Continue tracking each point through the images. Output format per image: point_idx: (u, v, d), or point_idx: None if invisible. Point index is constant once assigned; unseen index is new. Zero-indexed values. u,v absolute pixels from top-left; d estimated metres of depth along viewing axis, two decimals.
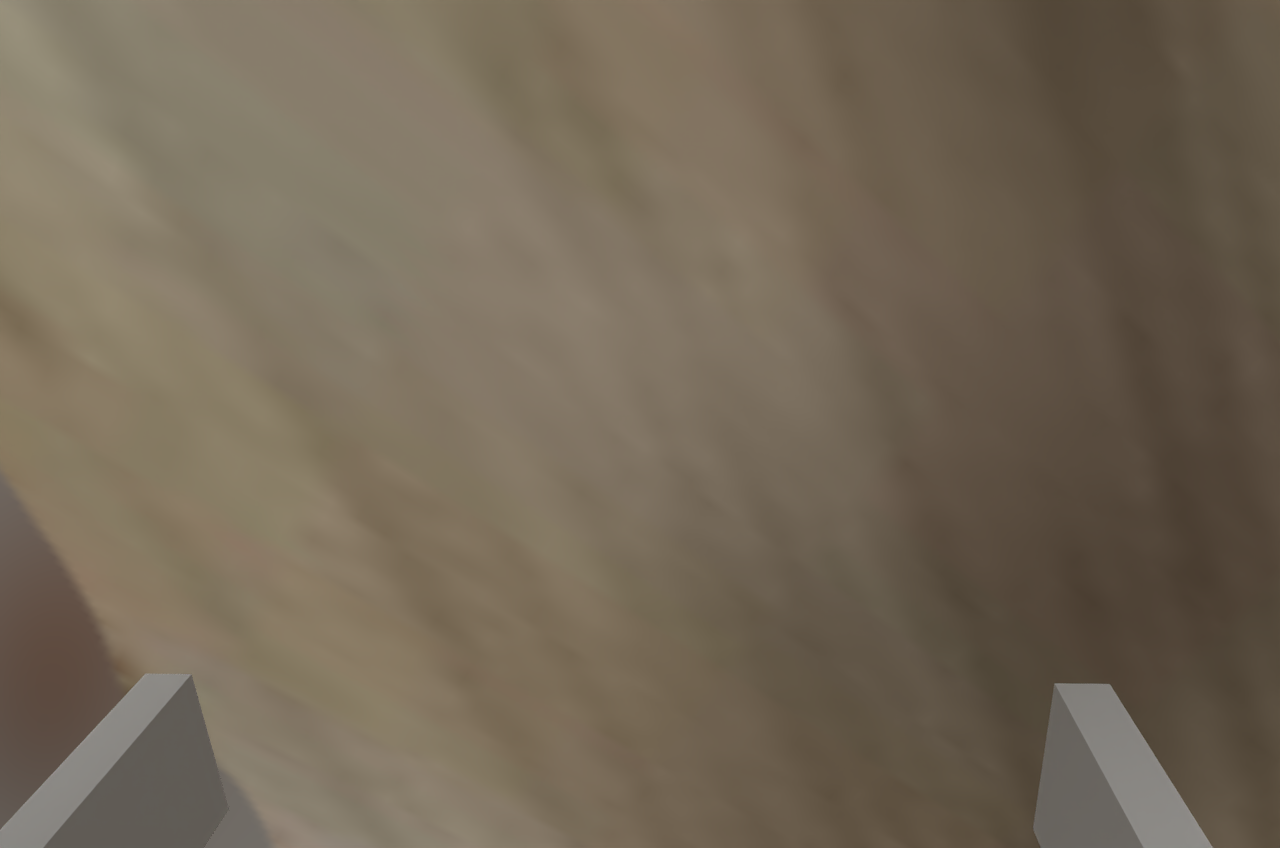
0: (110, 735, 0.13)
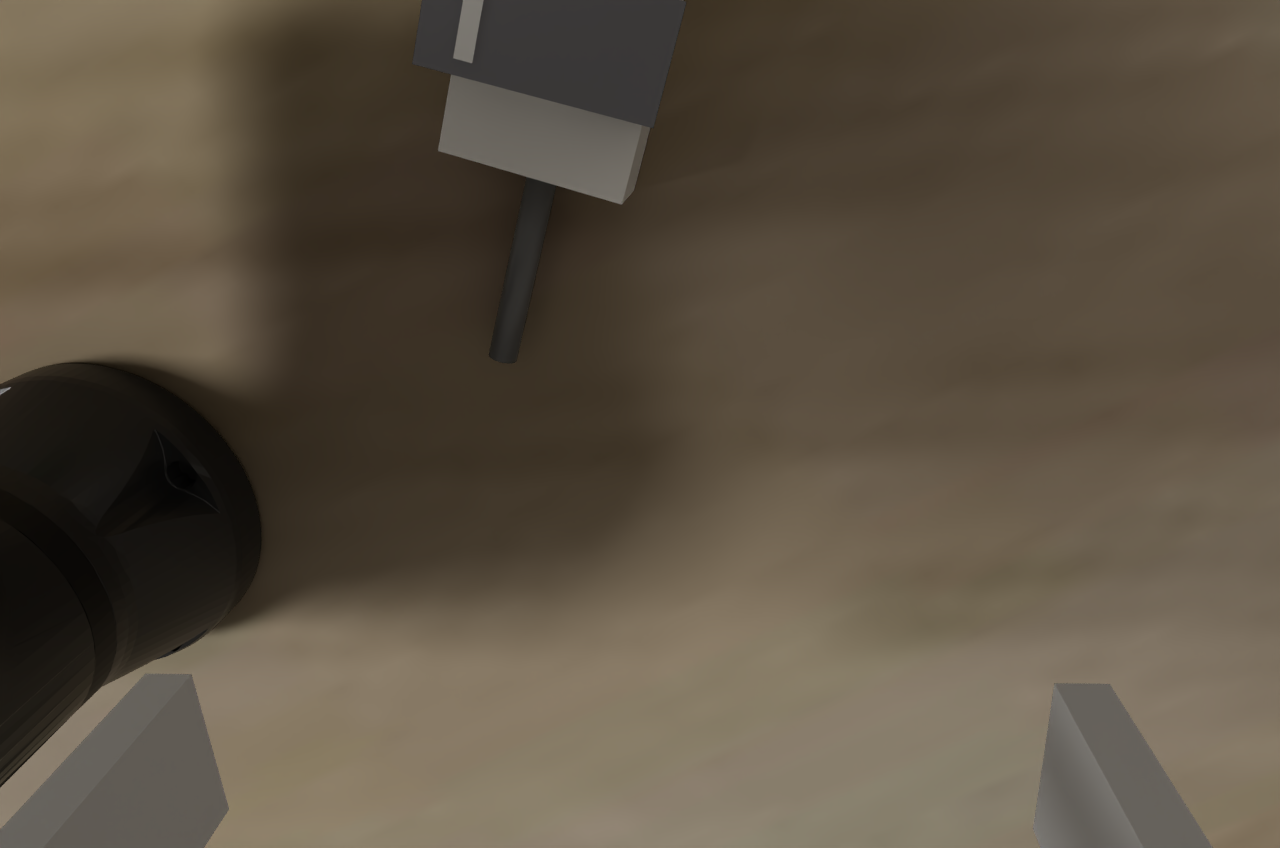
0: (110, 735, 0.13)
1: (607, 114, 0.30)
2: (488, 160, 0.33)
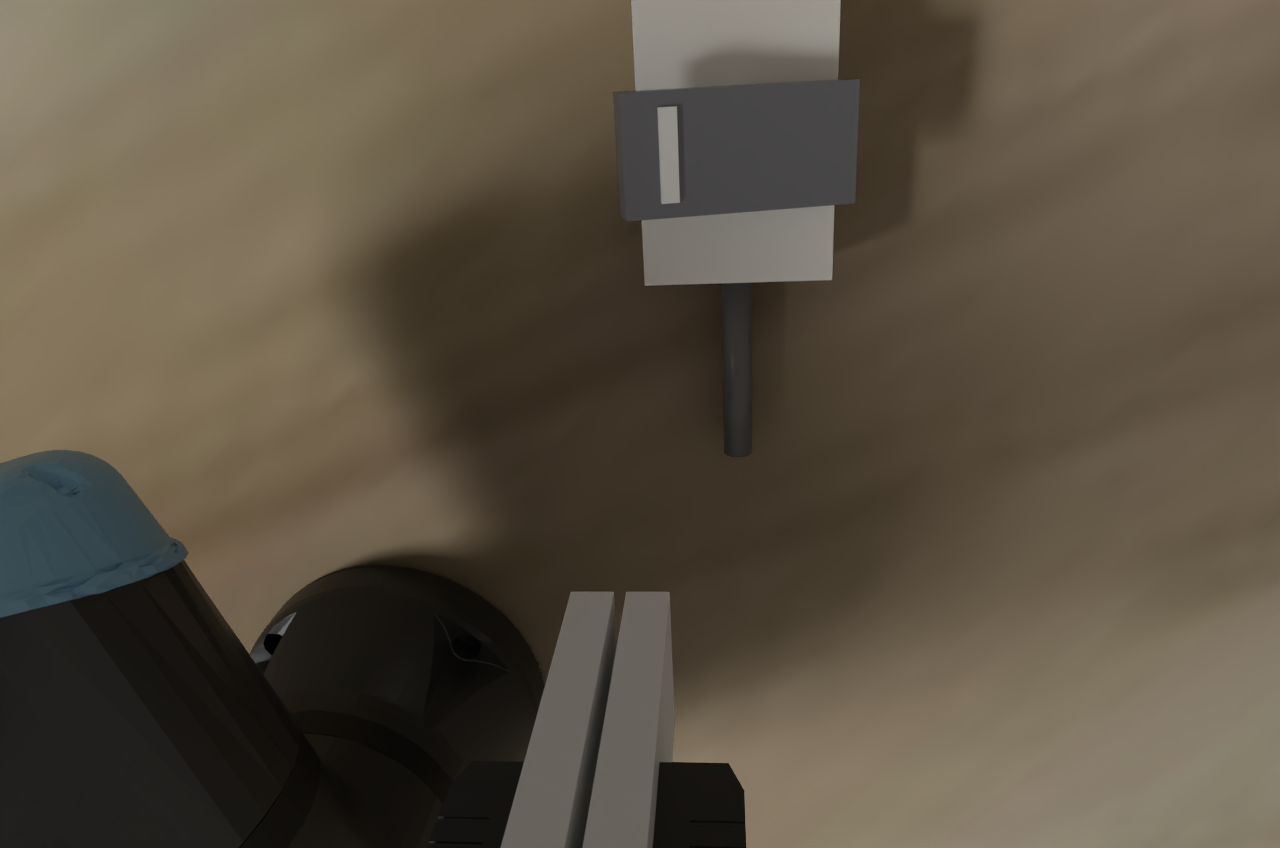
0: (578, 638, 0.14)
1: (810, 205, 0.31)
2: (694, 279, 0.34)
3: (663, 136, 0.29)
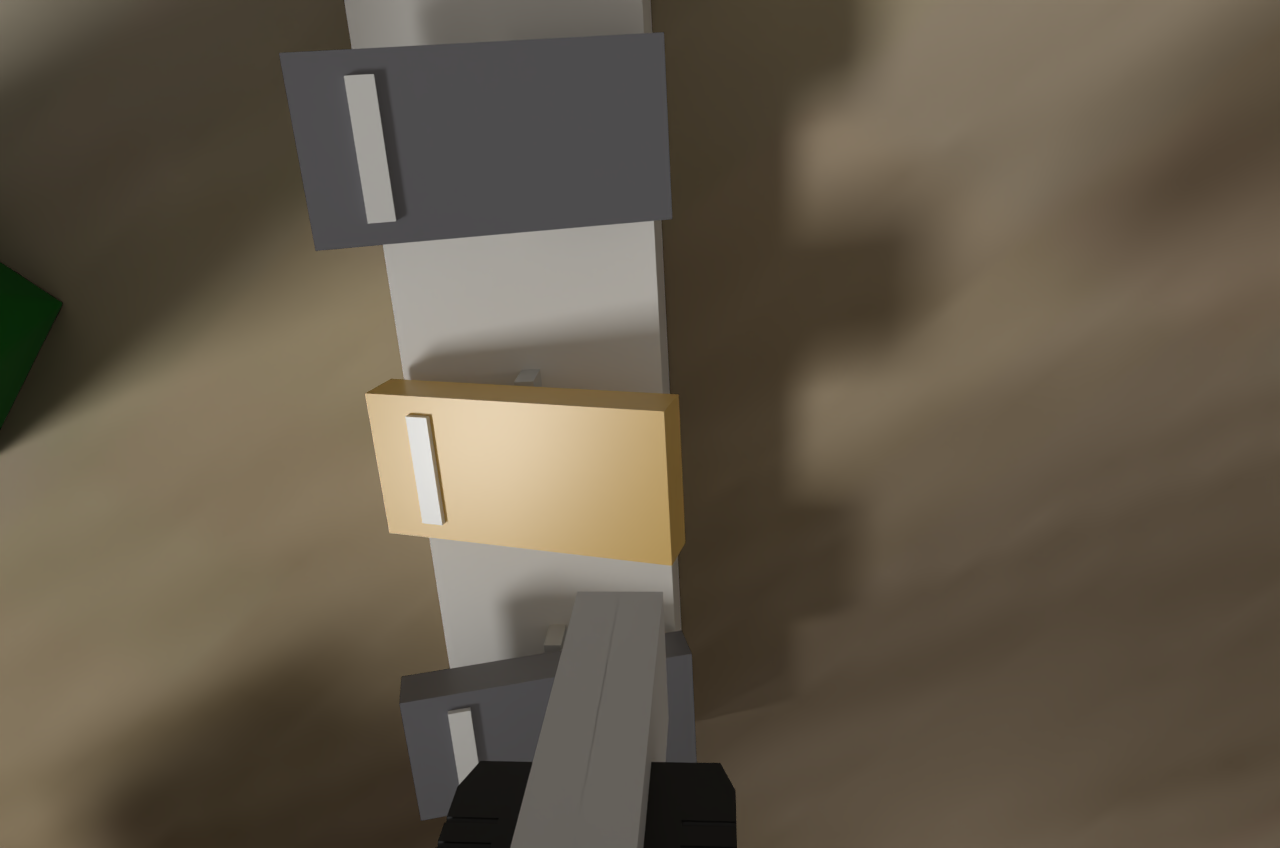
0: (585, 638, 0.14)
1: None
2: None
3: (456, 740, 0.25)
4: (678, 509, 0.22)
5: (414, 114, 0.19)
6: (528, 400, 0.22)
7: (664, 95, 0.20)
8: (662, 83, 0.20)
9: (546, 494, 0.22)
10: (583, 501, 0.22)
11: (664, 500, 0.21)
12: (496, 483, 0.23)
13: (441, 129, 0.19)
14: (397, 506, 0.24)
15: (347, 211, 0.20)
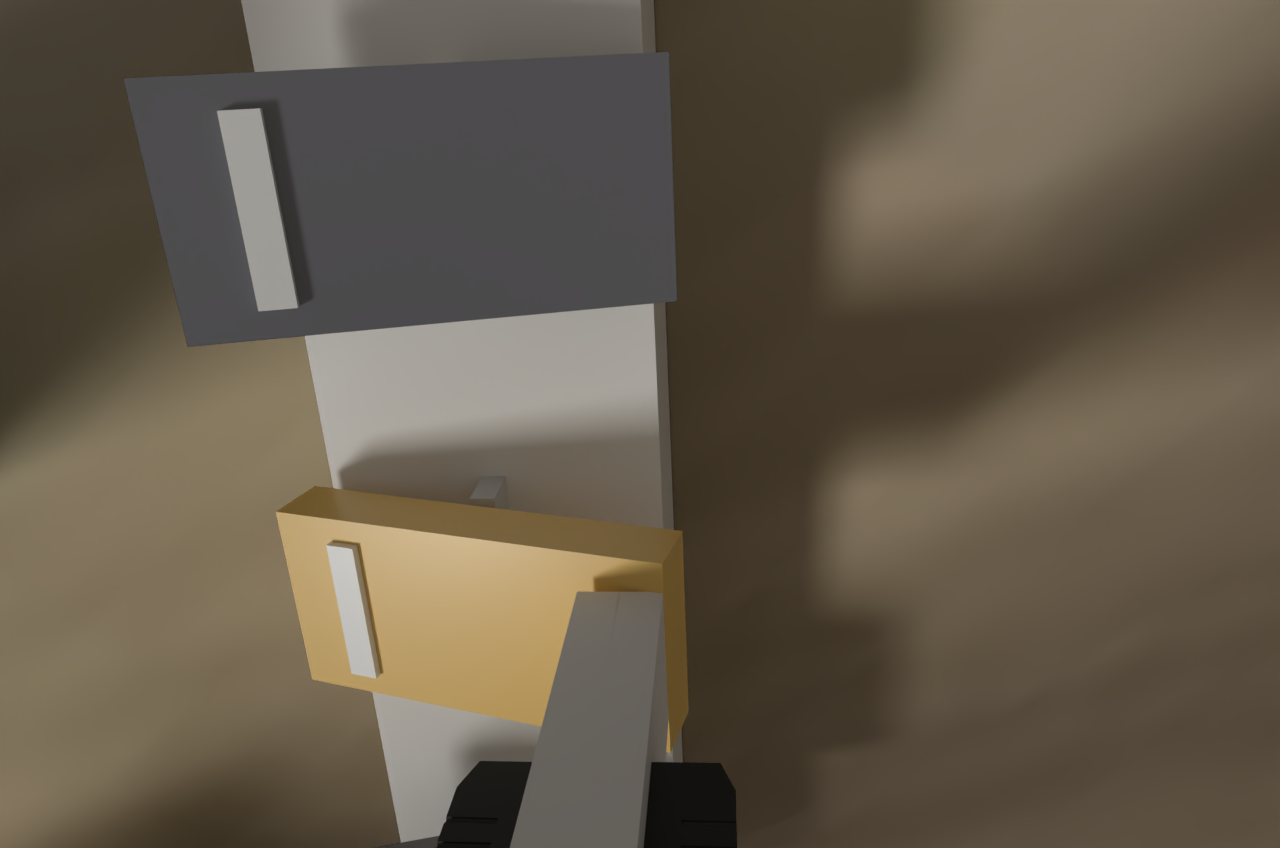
0: (584, 639, 0.14)
1: None
2: None
3: None
4: (680, 676, 0.17)
5: (320, 163, 0.14)
6: (483, 534, 0.17)
7: (668, 137, 0.15)
8: (666, 121, 0.15)
9: (507, 652, 0.17)
10: (555, 665, 0.17)
11: None
12: (443, 633, 0.18)
13: (359, 184, 0.14)
14: (321, 649, 0.19)
15: (230, 293, 0.14)
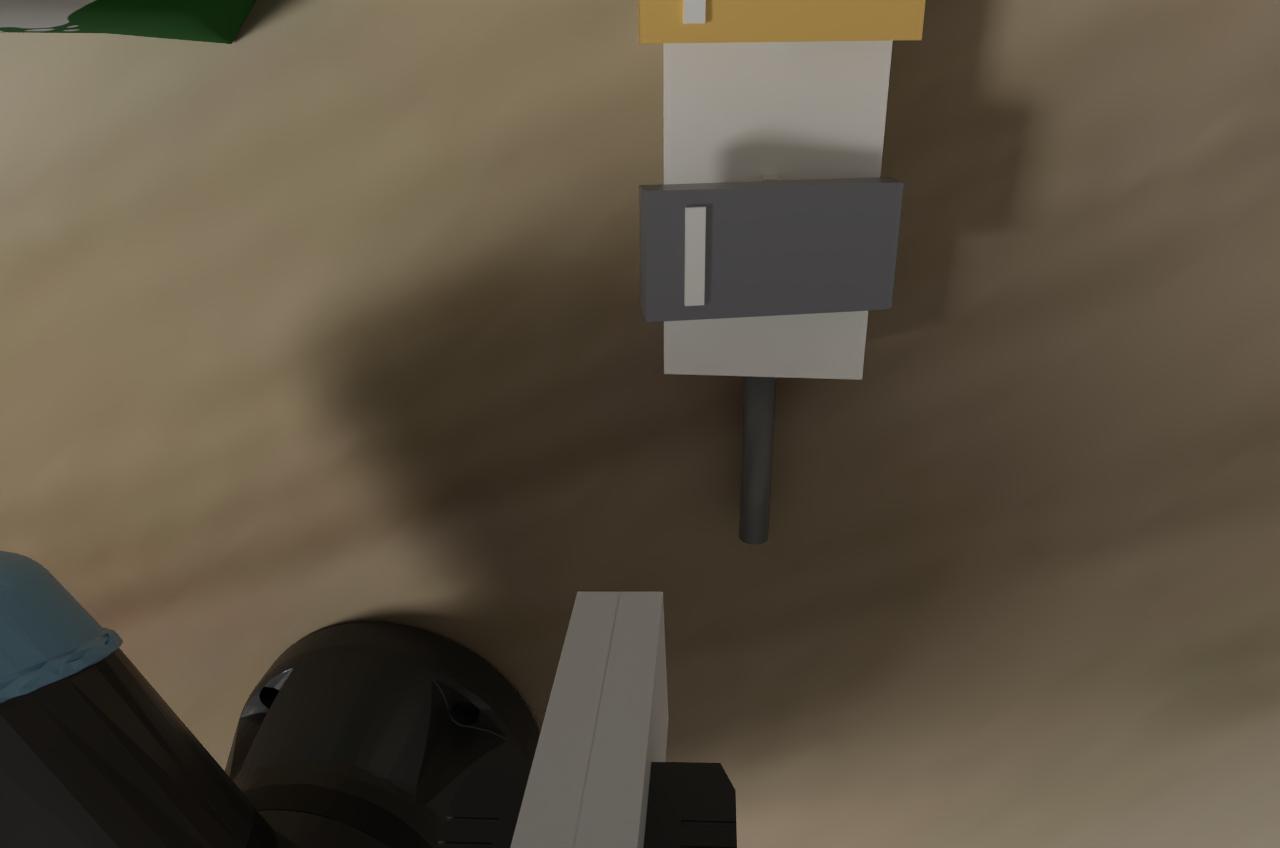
0: (585, 639, 0.14)
1: (843, 310, 0.29)
2: (716, 370, 0.32)
3: (689, 237, 0.27)
4: None
5: None
6: None
7: None
8: None
9: None
10: None
11: None
12: None
13: None
14: (655, 10, 0.25)
15: None
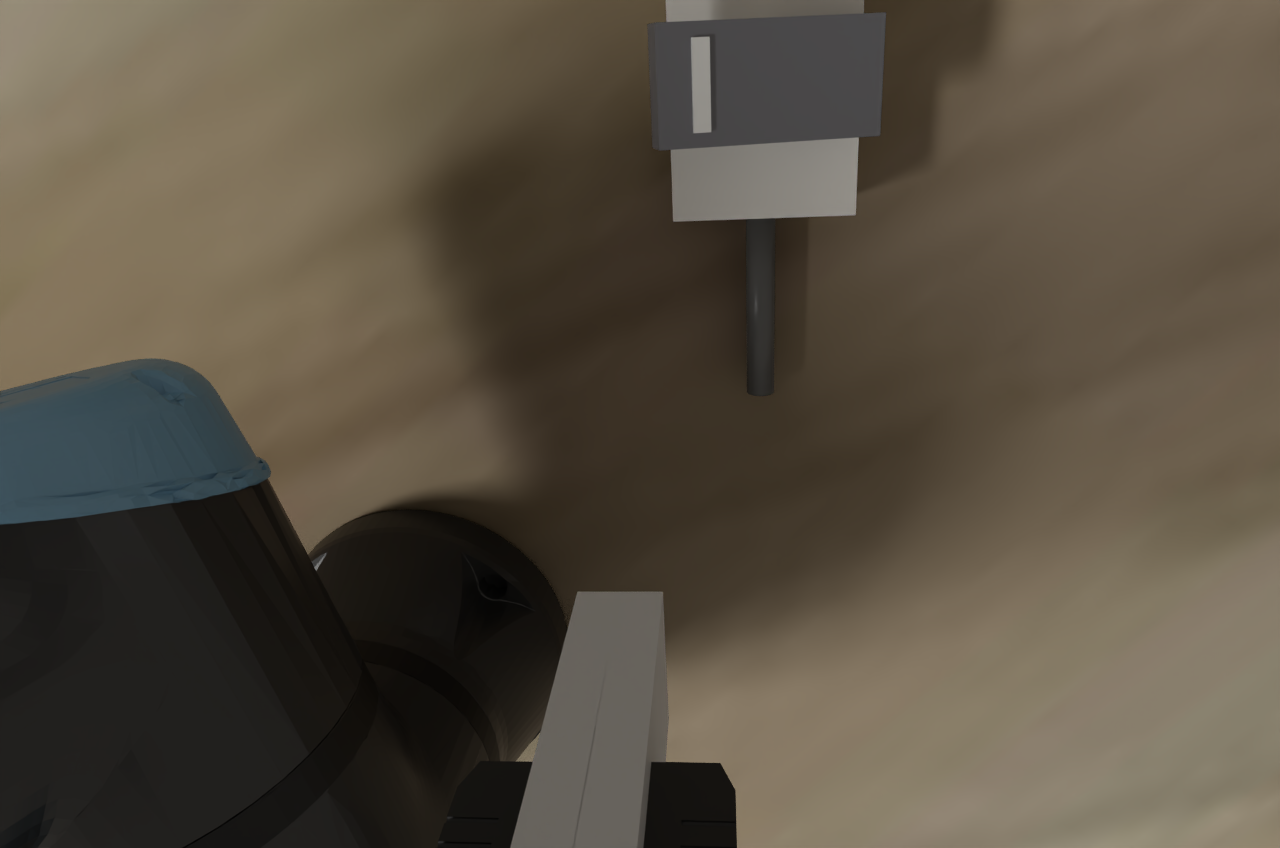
0: (585, 639, 0.14)
1: (836, 137, 0.32)
2: (721, 215, 0.35)
3: (696, 65, 0.30)
4: None
5: None
6: None
7: None
8: None
9: None
10: None
11: None
12: None
13: None
14: None
15: None
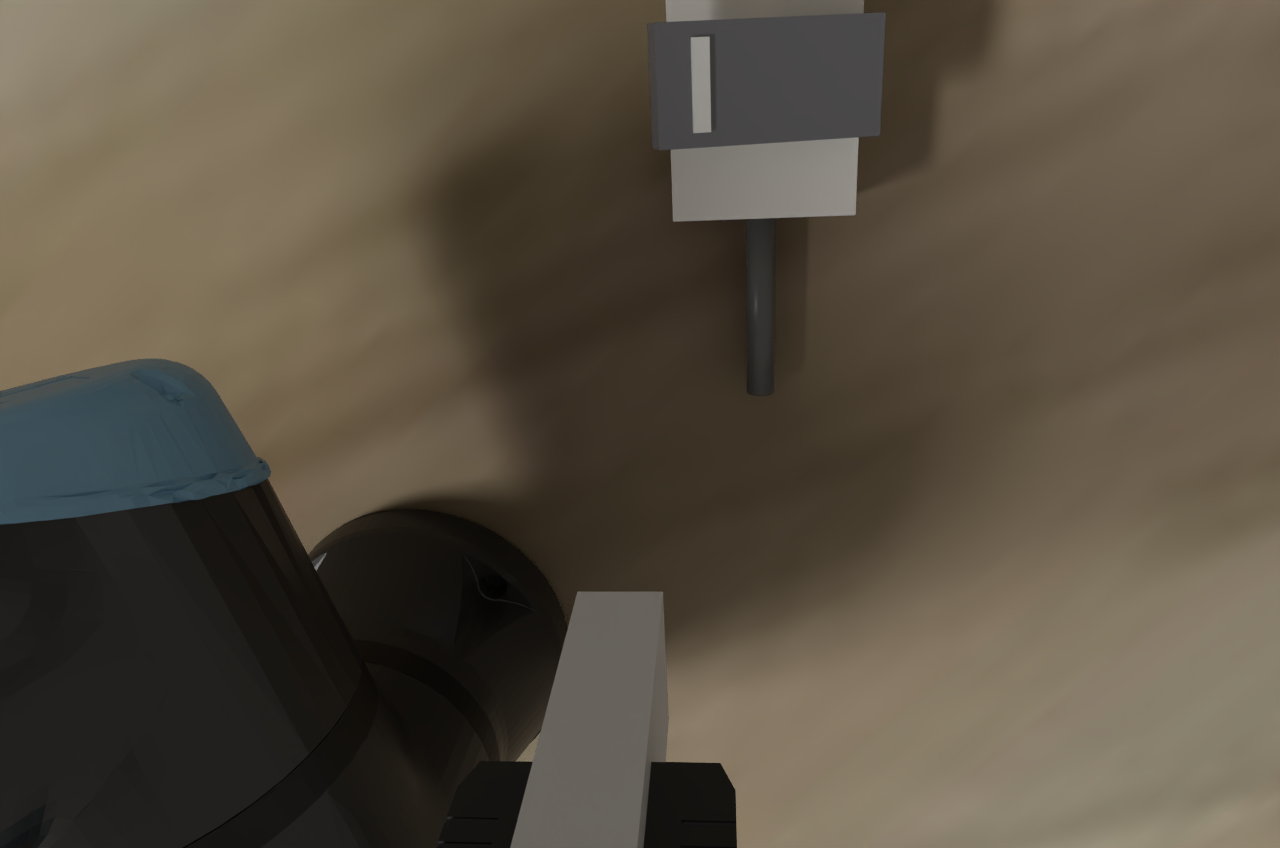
0: (585, 639, 0.14)
1: (836, 137, 0.32)
2: (721, 215, 0.35)
3: (696, 65, 0.30)
4: None
5: None
6: None
7: None
8: None
9: None
10: None
11: None
12: None
13: None
14: None
15: None
